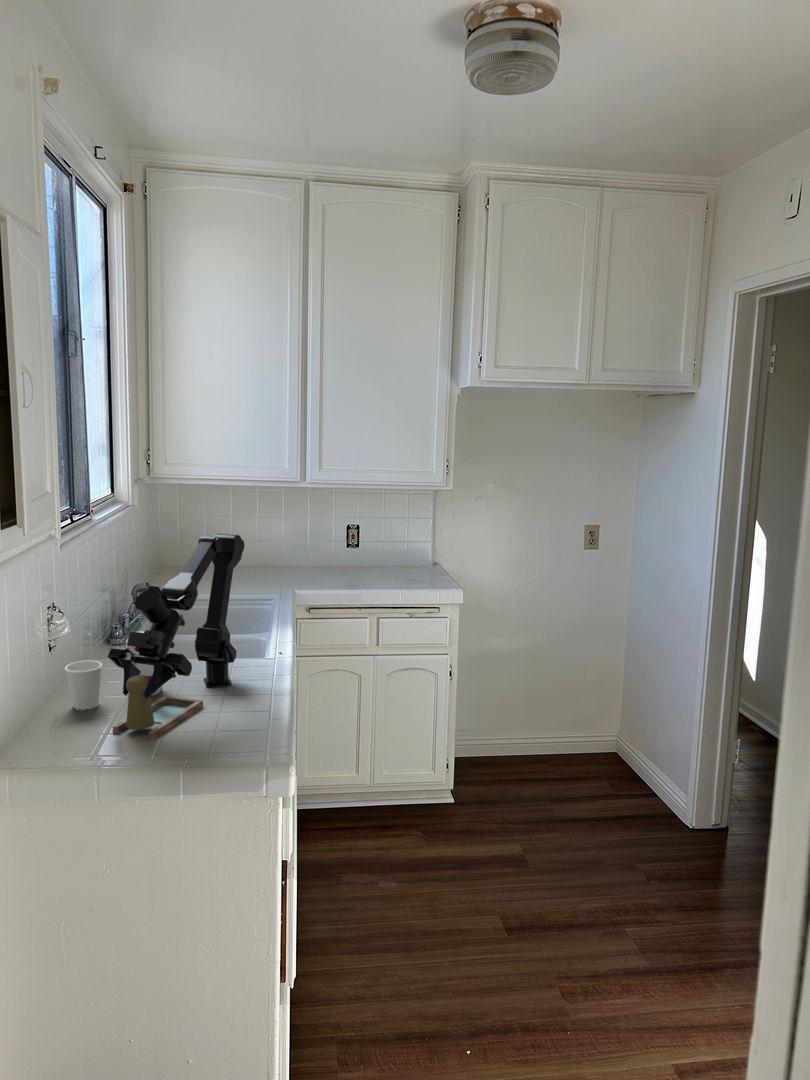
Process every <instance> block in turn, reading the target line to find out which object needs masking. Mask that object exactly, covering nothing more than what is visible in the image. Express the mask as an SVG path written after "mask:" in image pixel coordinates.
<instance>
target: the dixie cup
mask: <svg viewBox="0 0 810 1080" xmlns="http://www.w3.org/2000/svg"><path fill="white" fill-rule="evenodd" d="M102 667H103V663H102V662H100V661H97V660H80V661H75V662H74V661H73V662H71V663H69V664H67V665H66V666H65V667H64V671H65V672H66V678H67V679H66V680H67V683H68V688H69V693H70V698H71V702H72V703H71V704H72V707H74V708H76V709H84V710H83V711H86V710H85V709H88V710H92V709H95V708H97V707H98V706H99V704H100V703H99V702H100V701H99V700H100V692H101V690H100V689H101V677H102ZM74 708H73V709H74ZM76 709H75V710H76Z"/></svg>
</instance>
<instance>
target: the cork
mask: <svg viewBox="0 0 810 1080" xmlns="http://www.w3.org/2000/svg"><path fill="white" fill-rule="evenodd" d="M149 682H150V679H149V677H147V676H144V675H136V676H132V677H130V678H129V679H128V680H127V682H126V688H127V691H128V692H129V693H128V700H127V701H128V703H127V712H126V718H127V721H126V727H127V728H126V729H129V730H135V731H139V730H145V729H146V730H147V729H149V728H151V727H153V726H154V725H155V723H156V722H154V717H153V711H152V706H151V704H152V702H151V696H150V697H149V698H145V697H144V695H145V692H146V689H147V686H148V684H149Z"/></svg>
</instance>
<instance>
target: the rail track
mask: <svg viewBox="0 0 810 1080" xmlns="http://www.w3.org/2000/svg"><path fill="white" fill-rule="evenodd" d="M168 705H174V706H182V707H185V708H182V707H180V708H179V707H174V706H168ZM151 706H152V711H153V717H154V722H155V723H156V724H159V725H157V726H156V727H154V728H153V729H151V730H149V731H148V739H152V740H155V739H156V738H158V737H159V736H161V735H162V734H164V733H165V732H167V731H168V730H170V729H171V728H173V727H174V726H176V725H177V724H179V723H180V722H182V721H183V720H185V719H186V718H188V717H190V716H191V715H192V714H194V713H196V712H197V711H199V710H200V709H201V708H203V707H204V700H202V699H195V698H194V699H193V698H187V697H178V696H172V695H164V696H162V697H161V698H159V699H156V700H155V701H154V702H151ZM126 721H127V717H125V719H123V720H121V721H119V722H118V723H116V724H114V725H113V726H112V733H113V734H119V733H121V732H122V731H124V730H126V729H128V728H127V727H126Z"/></svg>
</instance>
